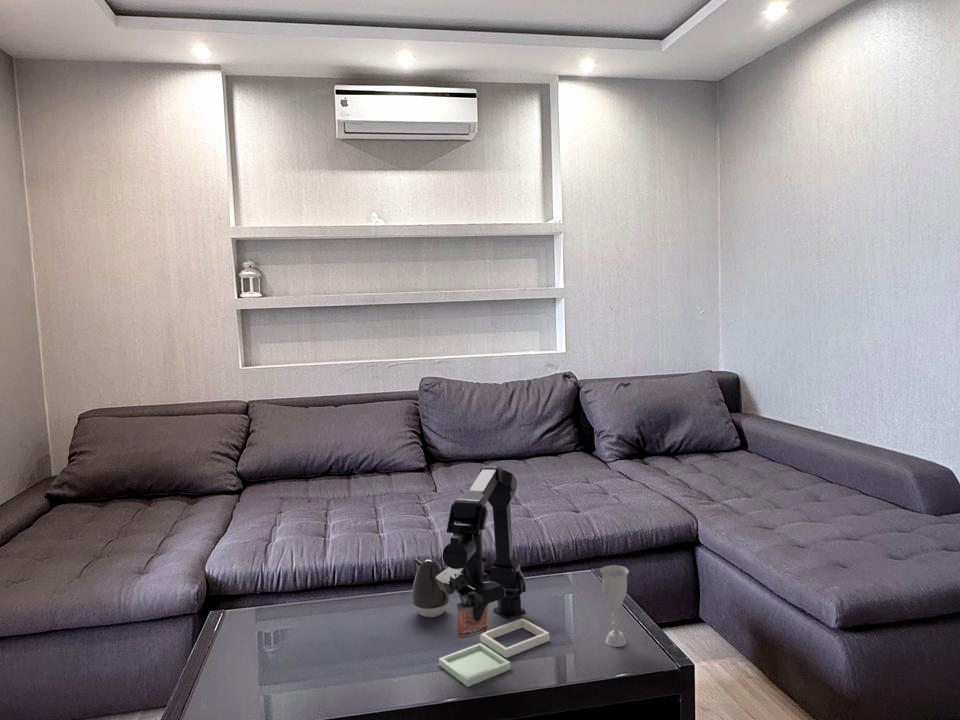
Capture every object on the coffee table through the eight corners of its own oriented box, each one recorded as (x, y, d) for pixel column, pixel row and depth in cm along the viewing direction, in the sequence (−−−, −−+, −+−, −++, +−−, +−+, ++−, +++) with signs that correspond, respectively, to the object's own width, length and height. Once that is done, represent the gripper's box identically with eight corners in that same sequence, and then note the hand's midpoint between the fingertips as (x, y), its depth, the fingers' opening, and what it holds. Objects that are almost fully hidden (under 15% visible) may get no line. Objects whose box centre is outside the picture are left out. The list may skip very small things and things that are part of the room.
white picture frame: (480, 641, 176) (480, 633, 176) (522, 625, 184) (522, 618, 184) (506, 658, 168) (505, 649, 167) (549, 640, 175) (549, 632, 175)
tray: (438, 665, 165) (438, 658, 165) (480, 649, 172) (480, 642, 172) (467, 686, 156) (467, 679, 156) (510, 669, 163) (510, 662, 162)
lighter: (460, 640, 161) (462, 600, 159) (453, 633, 163) (454, 593, 162) (490, 631, 165) (492, 592, 163) (482, 624, 168) (484, 585, 166)
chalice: (630, 650, 169) (628, 577, 168) (601, 648, 171) (599, 576, 169) (629, 635, 177) (628, 565, 175) (602, 634, 178) (600, 564, 176)
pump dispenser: (428, 602, 200) (426, 550, 199) (457, 610, 194) (455, 556, 193) (404, 615, 192) (401, 561, 191) (433, 624, 186) (431, 569, 185)
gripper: (419, 549, 165) (422, 614, 166) (463, 573, 149) (466, 644, 151) (459, 538, 171) (461, 601, 172) (505, 560, 156) (508, 628, 157)
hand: (472, 618), depth 163 cm, fingers closed on lighter, 3 cm apart
